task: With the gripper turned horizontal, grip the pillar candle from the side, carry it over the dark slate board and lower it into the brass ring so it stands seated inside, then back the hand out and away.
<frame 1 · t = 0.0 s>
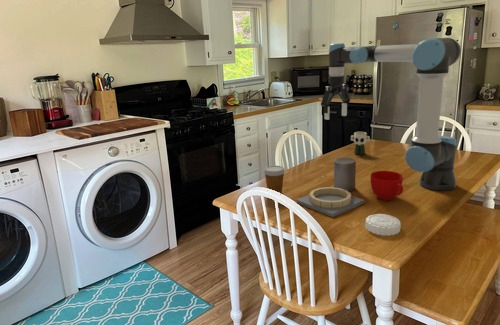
hand: (335, 117, 198), 28 cm above the table, tool pointing down, fingers open, 13 cm apart
pillar candle: (344, 188, 177), on the table
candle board: (329, 203, 161), on the table
mooncake: (382, 229, 138), on the table
ceramic cup: (388, 199, 163), on the table
character mug: (359, 154, 232), on the table
disposable coffee cup: (274, 193, 175), on the table
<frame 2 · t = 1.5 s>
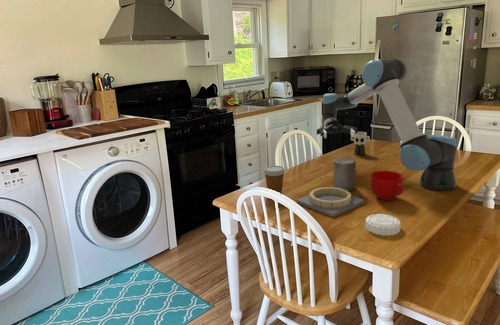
hand: (340, 135, 184), 22 cm above the table, tool horizontal, fingers open, 13 cm apart
nothing on the table moved.
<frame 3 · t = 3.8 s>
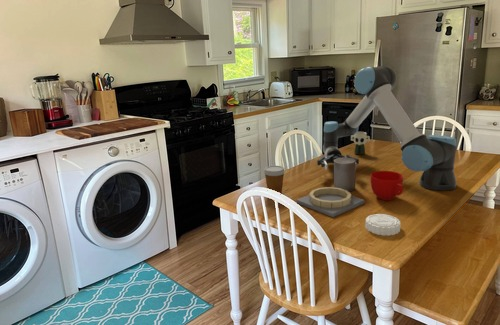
hand: (341, 166, 181), 8 cm above the table, tool horizontal, fingers open, 13 cm apart
nothing on the table moved.
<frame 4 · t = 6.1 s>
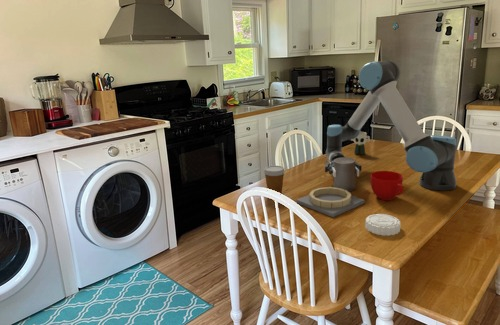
hand: (346, 173, 171), 9 cm above the table, tool horizontal, fingers closed on pillar candle, 9 cm apart
pillar candle: (344, 188, 177), on the table, touching gripper
everything else where it was.
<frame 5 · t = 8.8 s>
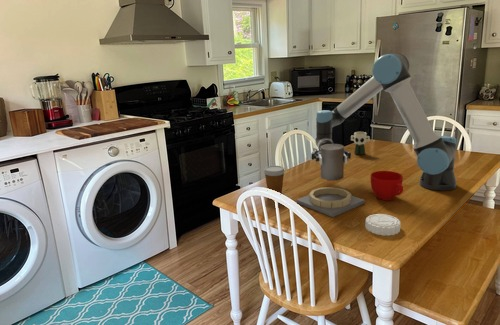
hand: (333, 161, 158), 18 cm above the table, tool horizontal, fingers closed on pillar candle, 9 cm apart
pillar candle: (331, 177, 165), point 9 cm above the table, touching gripper
everything else where it was.
when the fingers open (11 cm above the table, at t = 11.4 s): pillar candle drops 1 cm, resting on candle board.
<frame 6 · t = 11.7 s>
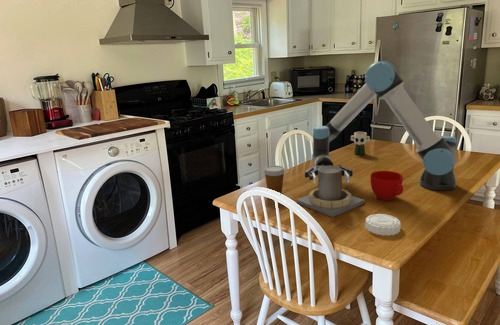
hand: (331, 180, 155), 11 cm above the table, tool horizontal, fingers open, 13 cm apart
pillar candle: (329, 200, 161), point 1 cm above the table, touching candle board
everything else where it was.
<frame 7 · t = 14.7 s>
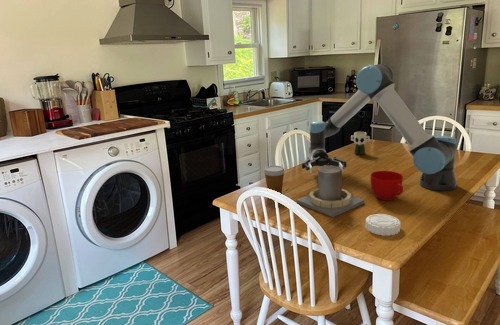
hand: (326, 170, 167), 12 cm above the table, tool horizontal, fingers open, 13 cm apart
nothing on the table moved.
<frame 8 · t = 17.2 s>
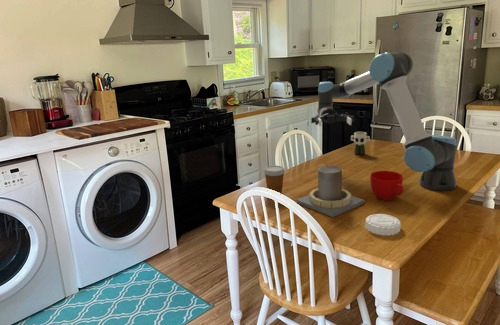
hand: (335, 122, 174), 30 cm above the table, tool horizontal, fingers open, 13 cm apart
nothing on the table moved.
at the end: pillar candle 0.2 cm off-centre on the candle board, point 1.3 cm above the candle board's base; pillar candle tilted 0°; the gripper is holding nothing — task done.
